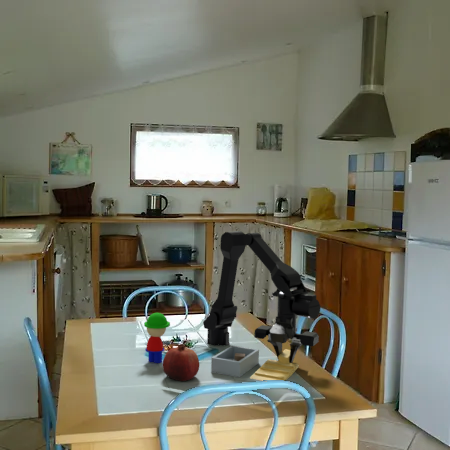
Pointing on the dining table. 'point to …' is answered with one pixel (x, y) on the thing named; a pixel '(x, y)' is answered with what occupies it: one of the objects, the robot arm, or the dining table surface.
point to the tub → (234, 367)
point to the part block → (239, 356)
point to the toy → (155, 336)
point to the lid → (276, 368)
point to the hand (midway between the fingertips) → (285, 363)
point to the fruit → (181, 363)
